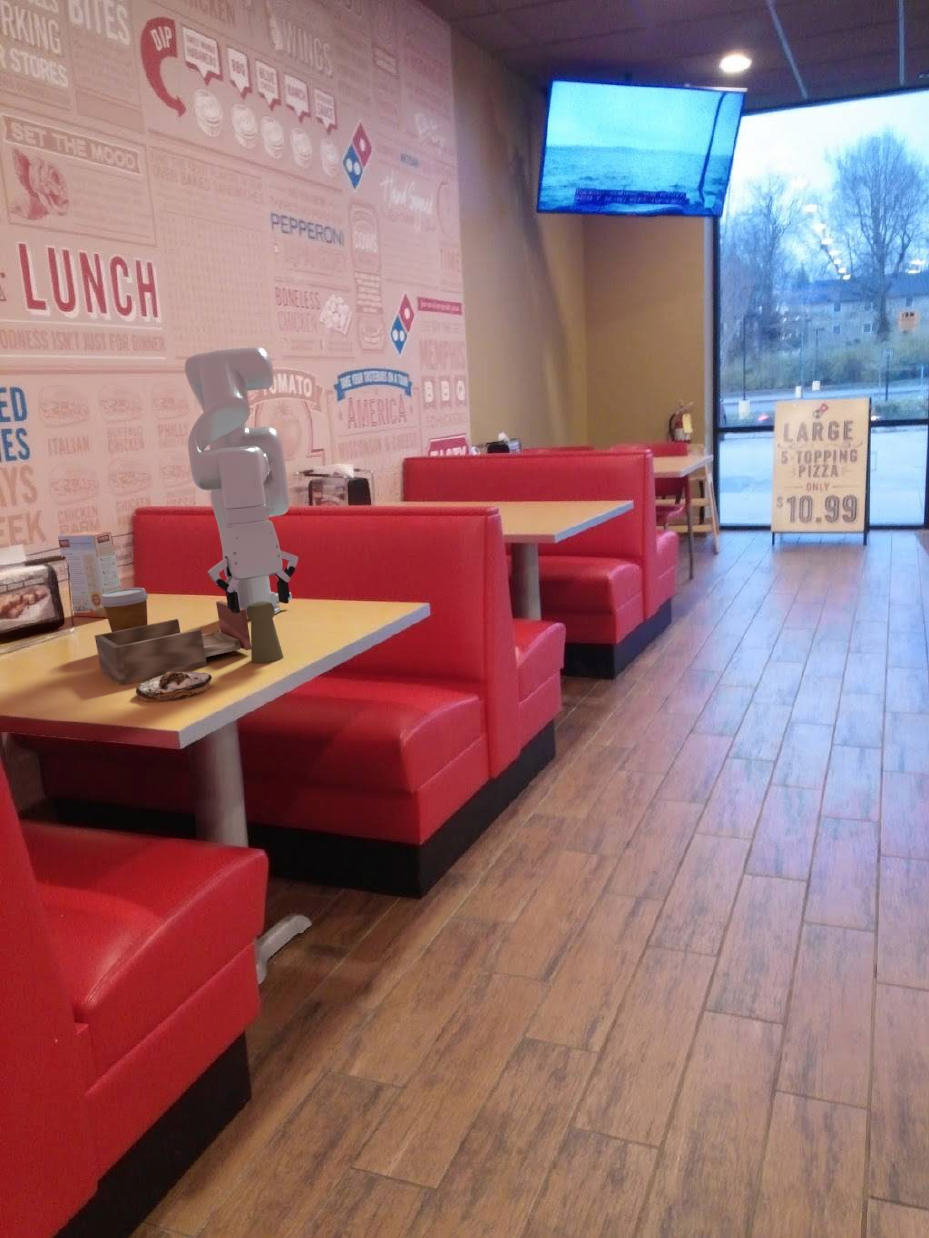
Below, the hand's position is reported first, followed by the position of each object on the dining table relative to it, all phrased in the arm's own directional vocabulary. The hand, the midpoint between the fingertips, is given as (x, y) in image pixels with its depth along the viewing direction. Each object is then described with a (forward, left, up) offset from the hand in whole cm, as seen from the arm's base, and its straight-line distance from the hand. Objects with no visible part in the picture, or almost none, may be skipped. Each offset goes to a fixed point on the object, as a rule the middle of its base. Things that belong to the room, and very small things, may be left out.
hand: (260, 607), depth 183 cm
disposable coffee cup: (+16, -36, -10) cm, 40 cm away
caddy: (+18, -14, -10) cm, 25 cm away
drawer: (+8, -14, -9) cm, 18 cm away
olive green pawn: (0, -1, -10) cm, 10 cm away
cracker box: (+12, -83, -10) cm, 84 cm away
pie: (+20, +6, -11) cm, 23 cm away
